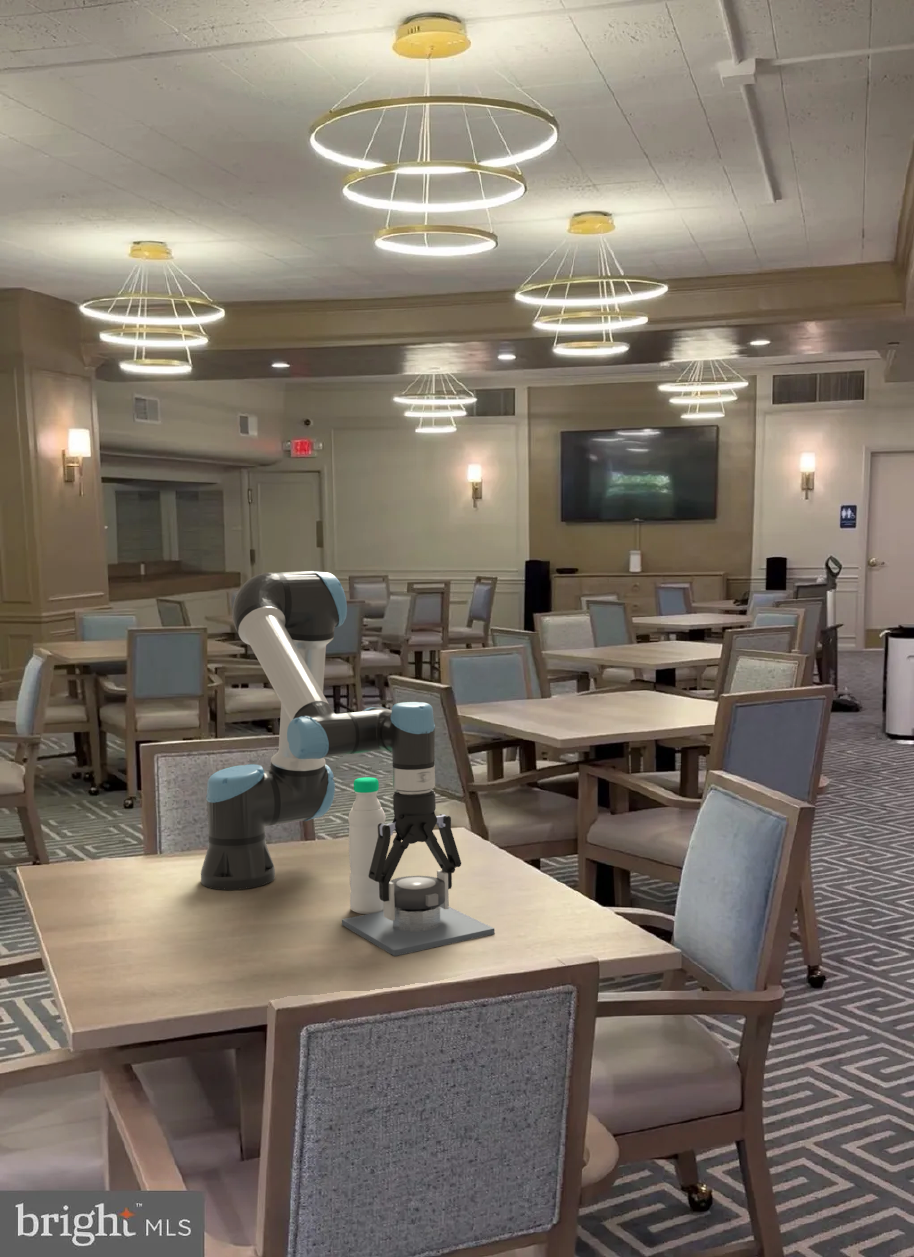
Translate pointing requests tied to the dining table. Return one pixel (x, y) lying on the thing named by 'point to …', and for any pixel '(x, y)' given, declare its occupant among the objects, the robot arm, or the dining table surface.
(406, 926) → the grey hollow ring
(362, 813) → the water bottle
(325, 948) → the dining table surface
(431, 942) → the slate board
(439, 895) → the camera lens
